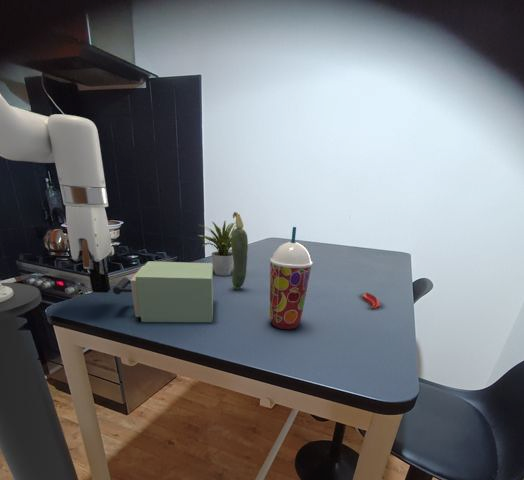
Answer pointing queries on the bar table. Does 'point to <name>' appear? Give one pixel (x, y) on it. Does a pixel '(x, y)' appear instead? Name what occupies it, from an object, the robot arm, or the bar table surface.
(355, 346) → the bar table surface
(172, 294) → the pale green box
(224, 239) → the house plant
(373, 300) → the cayenne pepper
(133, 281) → the drawer
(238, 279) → the vegetable
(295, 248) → the smoothie
